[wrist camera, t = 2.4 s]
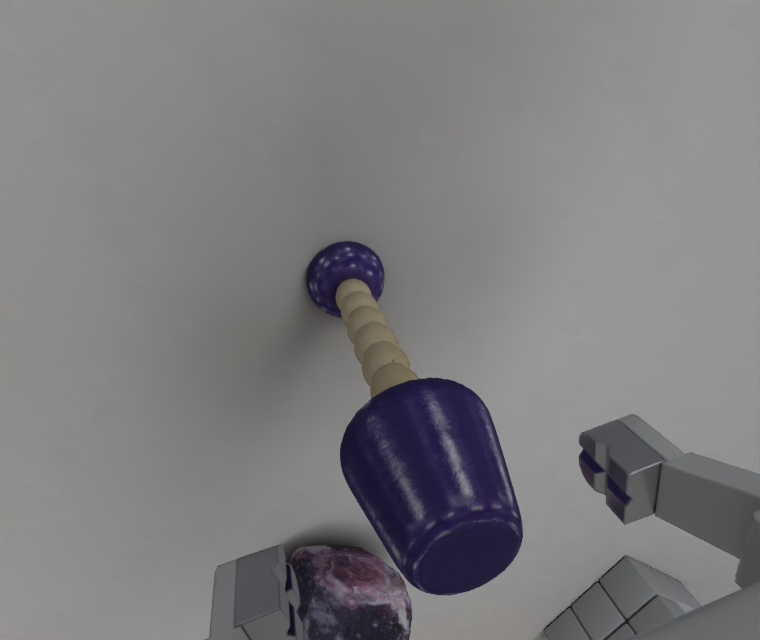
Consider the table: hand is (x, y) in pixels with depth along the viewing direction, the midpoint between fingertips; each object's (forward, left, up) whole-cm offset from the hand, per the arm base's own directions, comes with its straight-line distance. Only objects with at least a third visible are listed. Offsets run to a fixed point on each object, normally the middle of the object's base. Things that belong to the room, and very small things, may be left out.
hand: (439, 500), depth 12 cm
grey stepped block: (+45, +19, -15) cm, 51 cm away
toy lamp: (0, 0, -15) cm, 15 cm away
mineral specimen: (+22, -7, -15) cm, 28 cm away
